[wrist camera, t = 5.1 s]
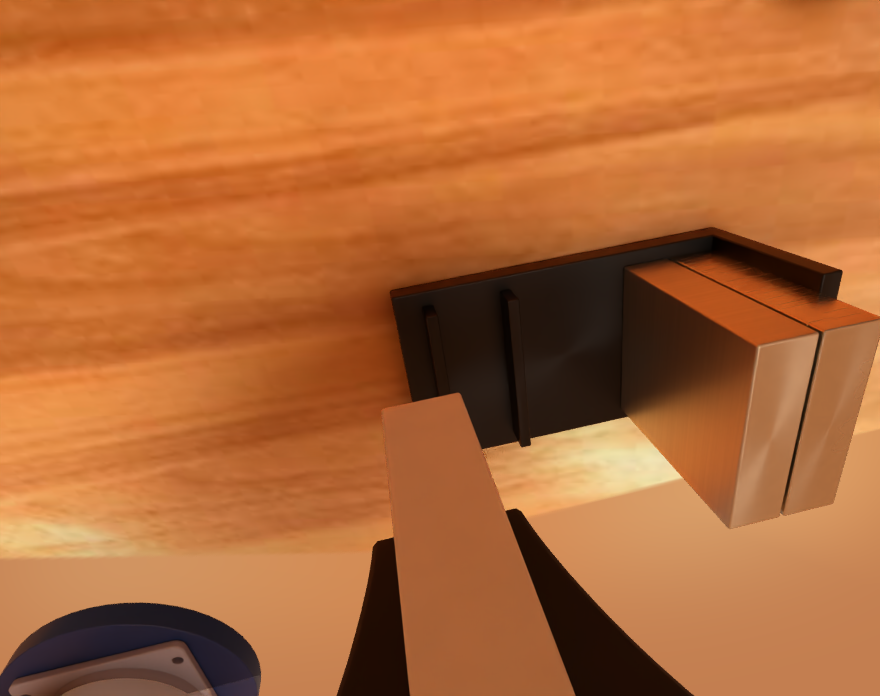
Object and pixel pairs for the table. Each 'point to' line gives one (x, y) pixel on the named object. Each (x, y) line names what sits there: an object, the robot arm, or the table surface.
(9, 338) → the table surface
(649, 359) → the black rack
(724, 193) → the table surface
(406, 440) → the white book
